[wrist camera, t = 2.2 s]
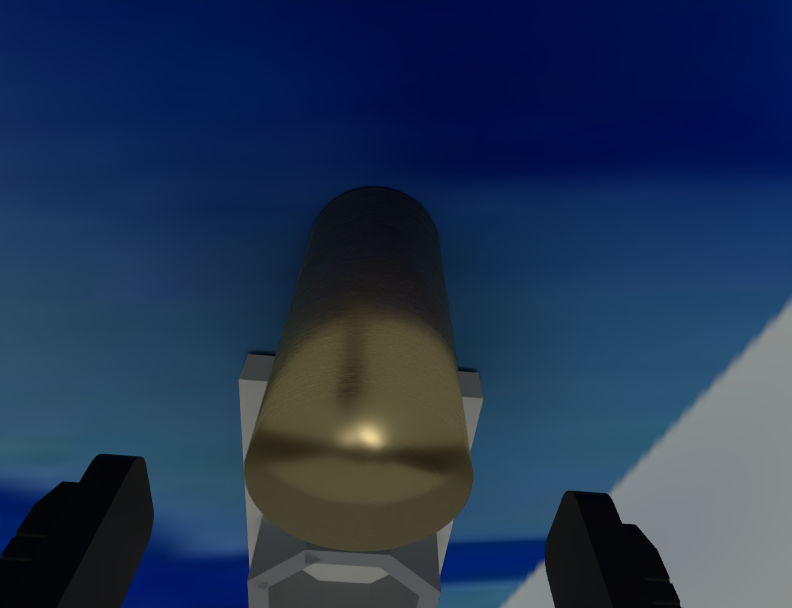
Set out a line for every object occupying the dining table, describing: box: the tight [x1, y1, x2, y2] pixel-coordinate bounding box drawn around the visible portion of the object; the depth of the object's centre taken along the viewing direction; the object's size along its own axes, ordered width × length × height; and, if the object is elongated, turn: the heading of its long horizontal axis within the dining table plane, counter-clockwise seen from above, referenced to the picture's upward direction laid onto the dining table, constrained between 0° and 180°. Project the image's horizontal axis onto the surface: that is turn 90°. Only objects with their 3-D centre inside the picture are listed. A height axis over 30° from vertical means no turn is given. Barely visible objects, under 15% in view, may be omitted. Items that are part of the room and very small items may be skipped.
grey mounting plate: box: [239, 354, 483, 608], centre depth 24 cm, size 13×9×4 cm
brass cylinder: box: [244, 187, 473, 552], centre depth 15 cm, size 4×4×10 cm
